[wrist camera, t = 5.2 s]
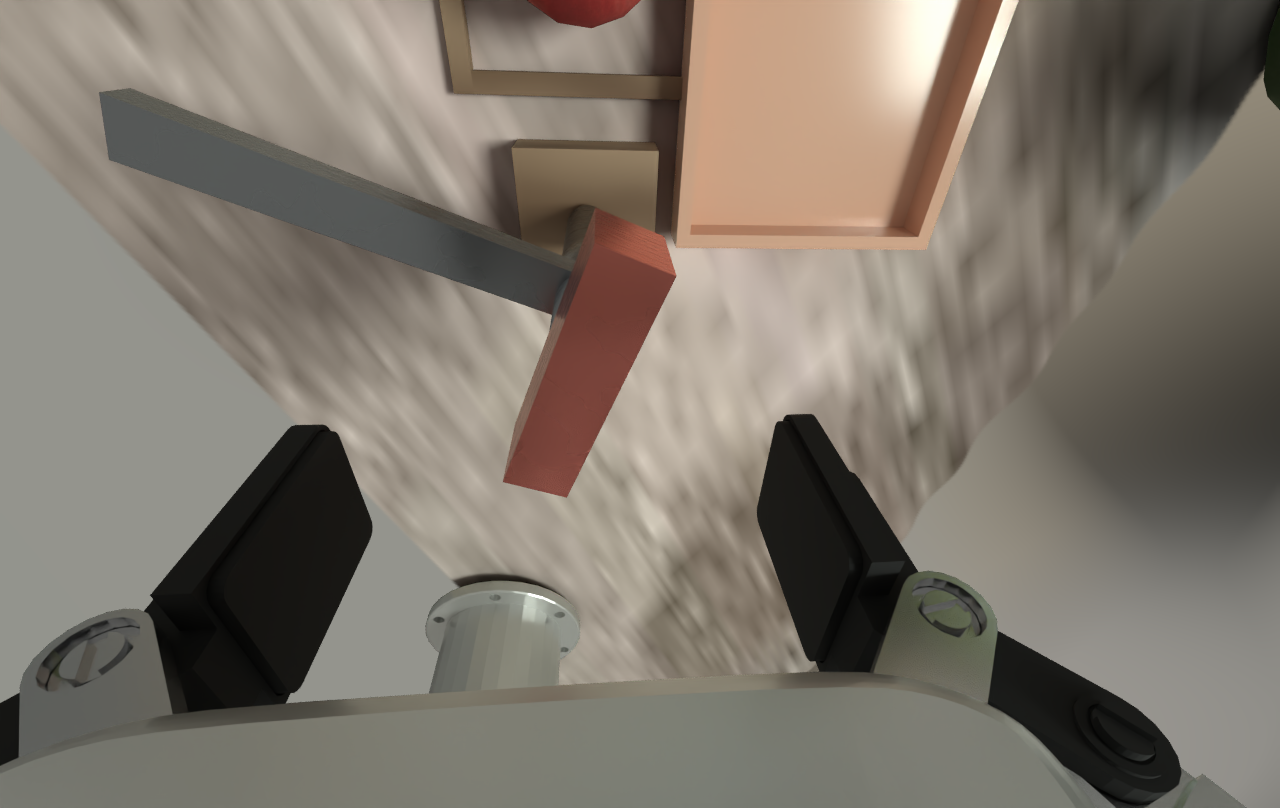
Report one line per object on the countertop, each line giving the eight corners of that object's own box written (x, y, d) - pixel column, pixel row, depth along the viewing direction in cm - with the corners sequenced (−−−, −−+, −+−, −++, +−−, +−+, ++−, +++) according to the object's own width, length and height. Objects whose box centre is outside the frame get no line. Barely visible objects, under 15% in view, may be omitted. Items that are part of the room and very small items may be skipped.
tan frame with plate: (693, 272, 26) (699, 287, 25) (485, 271, 25) (477, 287, 24) (749, -306, 15) (766, -345, 14) (389, -338, 15) (363, -382, 13)
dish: (904, 235, 26) (925, 249, 24) (671, 233, 25) (676, 247, 23) (1015, -91, 19) (1057, -103, 17) (693, -109, 18) (703, -124, 16)
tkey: (638, 154, 21) (676, 275, 10) (580, 301, 24) (566, 497, 14) (269, -19, 17) (-237, -91, 7) (267, 187, 20) (-62, 343, 10)
